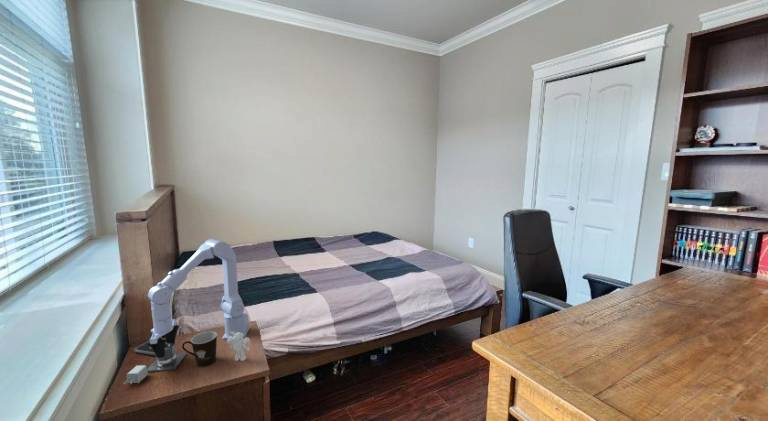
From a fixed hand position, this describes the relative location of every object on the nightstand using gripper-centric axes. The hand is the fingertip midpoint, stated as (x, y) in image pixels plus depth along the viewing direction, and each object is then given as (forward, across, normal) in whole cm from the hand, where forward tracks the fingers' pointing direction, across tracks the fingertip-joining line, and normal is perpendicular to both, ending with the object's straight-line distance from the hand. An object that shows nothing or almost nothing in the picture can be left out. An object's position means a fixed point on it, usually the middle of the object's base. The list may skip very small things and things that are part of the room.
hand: (166, 351), depth 122 cm
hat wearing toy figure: (+5, +2, +27) cm, 28 cm away
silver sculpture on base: (+5, 0, 0) cm, 5 cm away
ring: (+2, 0, 0) cm, 2 cm away
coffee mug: (+5, +1, +13) cm, 14 cm away
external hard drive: (+5, -10, -10) cm, 15 cm away
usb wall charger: (+5, +10, -6) cm, 13 cm away
